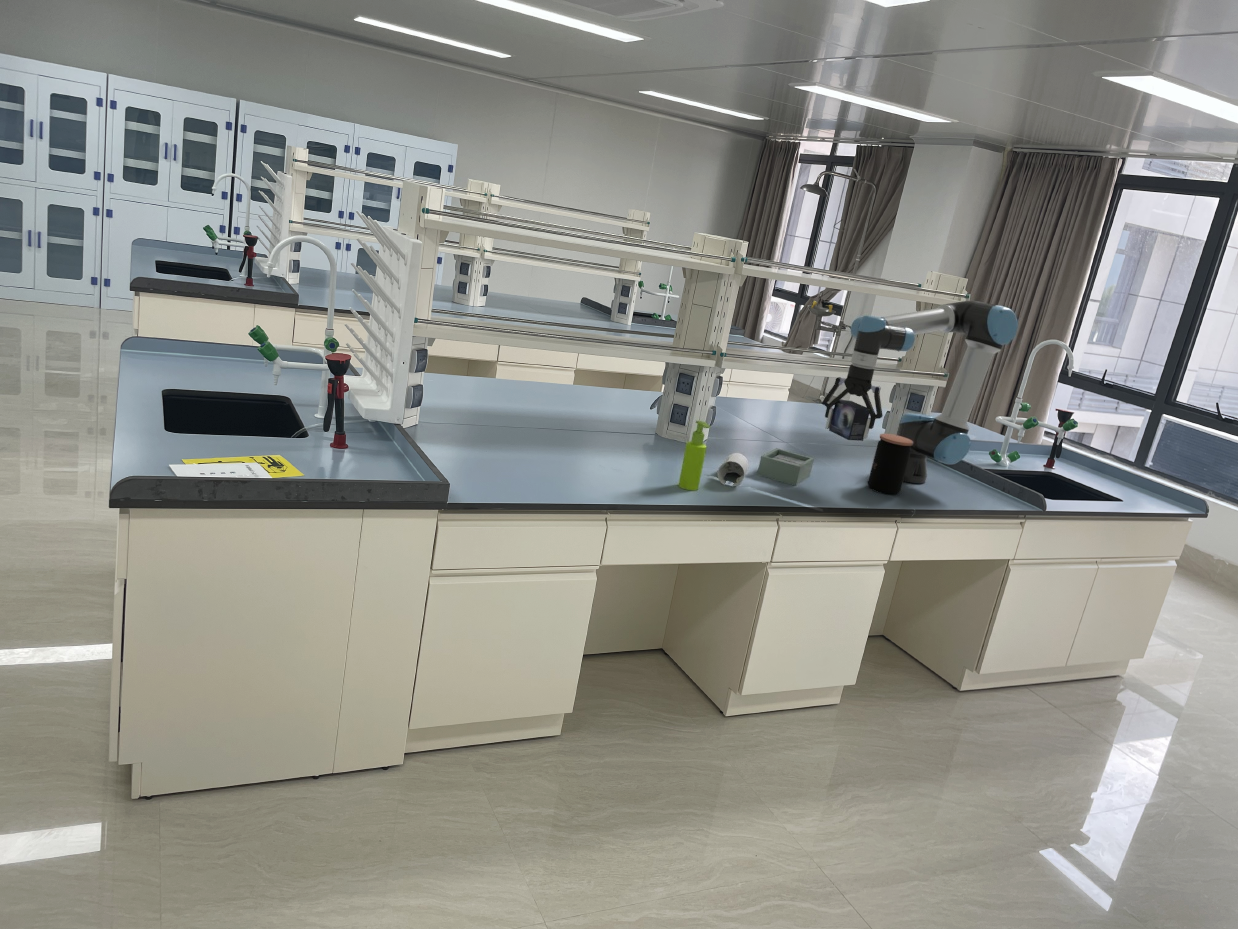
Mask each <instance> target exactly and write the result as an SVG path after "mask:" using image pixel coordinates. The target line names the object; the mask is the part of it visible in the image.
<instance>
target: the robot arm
mask: <svg viewBox="0 0 1238 929" xmlns="http://www.w3.org/2000/svg"><path fill="white" fill-rule="evenodd" d="M1018 325H1019V322H1018V319H1017V315H1016V313H1015V311H1013V310H1012V309H1011V308H1008V307H1007V306H1003V305H998V304H993V303H987V302H982V301H977V300H963V301H957V302H951V303H945V304H941V305H939V306H937V308H933V309H925V310H919V311H913V312H912V311H911V312H905V313H900V314H893V315H888V316H881V317H879V316H875V315H874V316H873V315H869V314H868V315H867V314H866V315H863V316H859V317H857V318H855V319H854V320H853V322H851V326H850V335H851V336H852V338H854V339H855V343H854V348H853V351H852V355H851V359H850V362H851V364H850V365H849V367H848V371H847V372H848V373H847V376H846V378H842V377H840V376H839V377H836V378H835V382H834V384H833V385H832V387H831V388H830V390H829V392H828V393H827V394H826V396H825V398H824V399H823V400H822V402H821V405H823V406H825V408H826V410H825V413H824V414H825V415H824V418H826V424H825V427H824V428H825V430H826V429H827V430H829V428H830V424H831V419H832V415H833V411H834V406H835V404H836V403H837V402H838V401H839V400H843V398H844V397H845V396H847V395H848V394H849V395H852V396H857V397H858V398H859V397H862V399H863V402H864V405H865V407H867V408H868V409H870V411H869V417H868V421H867V425H866V429H865V433H864V437H863V438H864V439H866V440H867V439H868V435H869V432H870V430H872V429H873V428H874V425H875V422H876V420H877V419H879V420H880V419H882V418H883V416H884V415H883V410H882V402H881V401H882V400H881V394H880V393H881V389H882V388H881V386H880V385H878V386H875V385H872V380H873V377H874V372H875V369H874V368H875V367H876V365H877V360H878V357H879V354H880V350H888V351H895V352H908V351H909V350H911V349H912V347H913V346H914V344H915V340H916V335H923V334H928V333H935V332H940V333H943V334H948V333H956V334H962V335H966V336H965V338H964V339H965V340H964V341H965V343H966V345H967V348H966V350H965V352H964V355H963V358H962V359H961V362H960V364H959V368H958V371H957V372H956V376H955V378H954V381H953V382H952V383H953V384H952V385H951V388H950V390H949V394H948V396H947V398H946V401H945V403H944V406H943V409H942V411H941V414H940V415H937V416H934V415H927V414H923V413H912V412H906V413H904V414H902V416H901V419H900V422H899V425H898V428H897V429H898V430H897V433H896V435H898V436H901V437H905V438H908V439H910V440H912V441H913V445H911V447H910V448H911V453H910V457H909V461H908V464H907V468H906V472H905V476H904V479H903V482H906V483H911V484H925V483H926V481H927V479H928V478H927V477H928V473H927V472H928V470H927V457H929V458H930V459H933V460H935V461H936V462H938V463H943V464H945V465H956V464H957V463H959V462H961V461H963V460H964V458H965V457H966V456H967V455H968V453H969V452H970V449H971V445H972V442H971V438H970V436H969V435H968V433H969V431H970V427H969V425H968V420H969V418H970V416H971V413H972V410H973V408H974V405H975V403H976V400H977V398H978V395H979V393H980V390H981V388H982V386H983V383H984V380H985V377H986V376H987V372H989V371H988V370H989V368H990V365H991V363H992V360H993V358H994V355H995V354H998V353H999V352H1001V351H1002V349H1003V346H1004V345H1008V344H1009V343H1011V341H1013V340H1014V339H1015V337H1016V335H1017V332H1018V330H1019V329H1018V327H1019V326H1018ZM843 384H844V386H845V389H844V390H842V392H840V393H839V394H838V395H837V396H836V397H835V398H833V399H832V397H834V396H833V395H834V394H835V393H836V391H837V390H838V389H839V387H840V386H841V385H843ZM870 390H871V392H872V393H873V397H874V404H875V409H874V407H873V405H872V402H871V399H870V396H869V393H868V392H869V391H870ZM831 399H832V400H831ZM830 400H831V401H830ZM829 401H830V402H829ZM875 410H876V411H875ZM864 439H863V440H864Z"/></svg>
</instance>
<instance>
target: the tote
mask: <svg viewBox="0 0 1238 929" xmlns="http://www.w3.org/2000/svg"><path fill="white" fill-rule="evenodd" d="M779 454H783V455H787V456H790V457H794V458H797V459H801V460H805V462H803V463H802V464H800V465H794V464H791V463H787V462H784V461H780V460H776V459H773V457H775V456H777V455H779ZM814 462H815V458H814V457H810V456H806V455H802V454H799V453H795V452H792V451H788V450H785V449H782V448H777V447H776V448H774V449H772V450H770V451H768V452H766V453H765V454H761V456H760V460H759V464H758V470H757V474H756V475H757V476H760V477H763V478H766V479H771V480H775V481H778V482H781V483H785V484H788V485H792V486H795V487H797V486H798V485H799V484H801V483H803V482H804V481H806V480H807V479H809V478H810V476H811V473H812V469H813V465H814Z"/></svg>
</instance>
